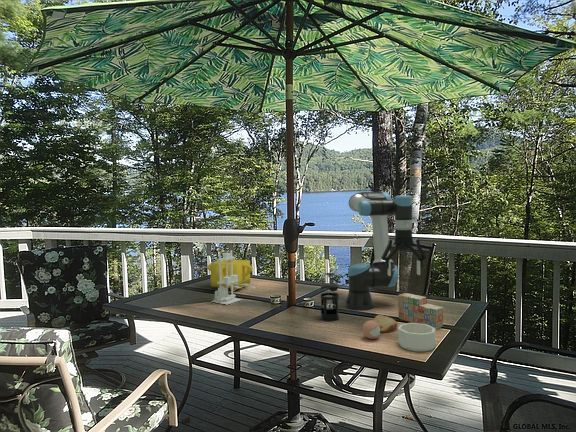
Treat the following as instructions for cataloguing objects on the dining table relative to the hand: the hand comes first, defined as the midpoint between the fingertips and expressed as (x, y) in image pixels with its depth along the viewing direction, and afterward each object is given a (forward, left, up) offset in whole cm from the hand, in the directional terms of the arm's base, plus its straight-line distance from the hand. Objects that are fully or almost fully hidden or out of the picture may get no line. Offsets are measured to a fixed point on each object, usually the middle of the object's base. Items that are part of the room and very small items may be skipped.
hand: (403, 275), depth 194 cm
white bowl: (+8, -21, -25) cm, 33 cm away
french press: (-37, +1, -25) cm, 44 cm away
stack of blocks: (+6, +10, -25) cm, 28 cm away
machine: (-96, +8, -25) cm, 99 cm away
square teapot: (-121, +40, -25) cm, 130 cm away
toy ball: (-11, -20, -25) cm, 33 cm away
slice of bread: (-10, -1, -25) cm, 27 cm away
